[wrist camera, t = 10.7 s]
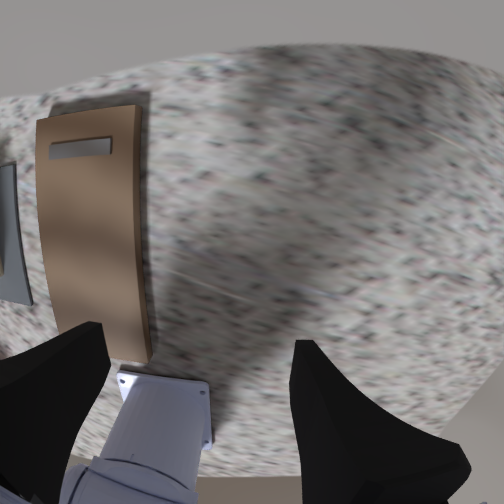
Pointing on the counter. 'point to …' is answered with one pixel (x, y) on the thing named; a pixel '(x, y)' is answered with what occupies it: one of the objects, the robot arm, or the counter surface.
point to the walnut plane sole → (94, 224)
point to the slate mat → (11, 243)
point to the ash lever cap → (1, 268)
